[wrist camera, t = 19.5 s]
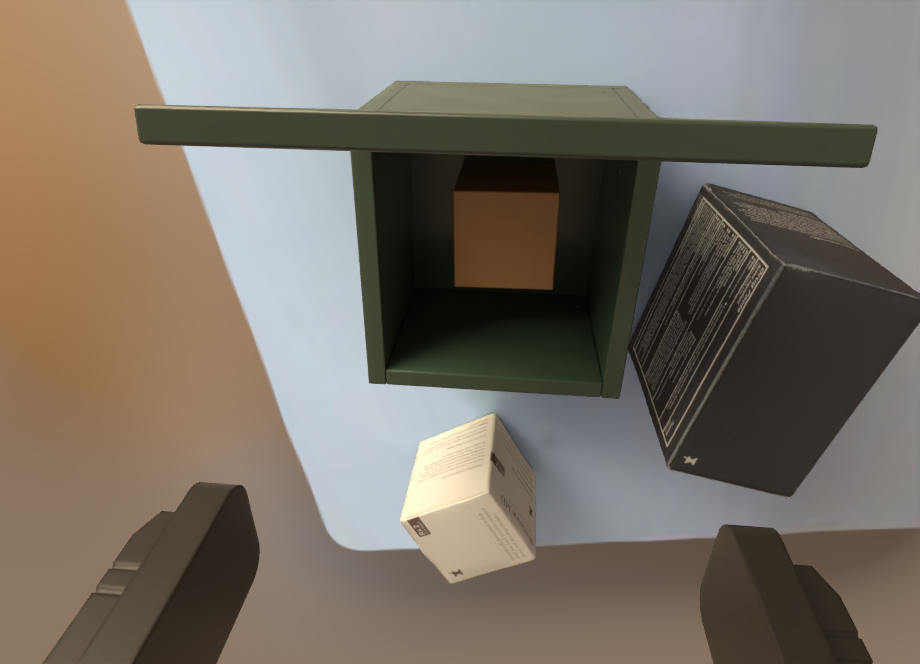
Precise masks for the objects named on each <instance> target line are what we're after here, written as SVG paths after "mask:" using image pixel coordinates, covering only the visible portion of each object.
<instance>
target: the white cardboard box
mask: <svg viewBox="0 0 920 664" xmlns="http://www.w3.org/2000/svg"><path fill="white" fill-rule="evenodd" d="M400 522H401V524H402V525H403V526H404V528H405V529H406V530H407V531H408V533H409V534H410V535H411V537H412V538H413V539H414V540H415V542H416V543H417V544H418V546H419V547H420V549H421V551H422V552H423V553H424V554H425V556H426V557H427V558H428V559H429V560H430V561H431V562H432V563H433V564H434V565H435V566H436V568H437V569H438V570H439V571H440V572H441V574H442V575H443V576H444V577H445V578H446V580H448V582H449V583H451V584H452V583H456V582H459V581H462V580H465V579H468V578H472V577H475V576H478V575H482V574H485V573H489V572H492V571H496V570H499V569H503V568H507V567H510V566H514V565H517V564H521V563H525V562H528V561H531V560H534V559H535V557H536V476H535V473H534V471H533V470H532V468H531V467H530V466H529V464H528V463H527V462H526V460H525V459H524V457H523V456H522V454H521V453H520V451H519V450H518V448H517V447H516V445H515V444H514V442H513V441H512V439H511V437H510V436H509V434H508V432H507V431H506V429H505V427H504V426H503V424H502V422H501V420H500V419H499V417H498V415H497V414H494V413H493V414H489V415H487V416H484V417H482V418H479V419H477V420H475V421H472V422H469V423H467V424H465V425H462V426H460V427H457V428H455V429H452V430H450V431H447V432H445V433H442V434H440V435H437V436H435V437H432V438H430V439H427V440H425V441H422V442H420V444H419V448H418V453H417V456H416V460H415V464H414V468H413V472H412V476H411V480H410V484H409V488H408V492H407V496H406V500H405V504H404V508H403V511H402V515H401V519H400Z"/></svg>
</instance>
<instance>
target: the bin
mask: <svg viewBox="0 0 920 664" xmlns="http://www.w3.org/2000/svg"><path fill="white" fill-rule="evenodd" d="M358 110H386V111H422V112H458V113H494V114H530V115H566V116H602V117H638V118H658V117H657V116H656V115H655V114H654V113H653V112H652V111H651V110H650V109H649V108H648V107H647V106H646V105H645V104H644V103H643V102H642V101H641V100H640V99H639V98H638V97H637V96H636V95H635V94H634V93H633V92H632V91H631V90H630V89H629V88H628V87H627V86H588V85H546V84H504V83H463V82H421V81H395V82H394V83H393V84H391V85H390V86H389V87H387V88H386V89H385V90H383V91H382V92H381V93H379V94H378V95H377V96H375V97H374V98H373V99H371V100H370V101H369V102H367V103H366V104H365V105H363V106H362V107H361V108H359V109H358ZM463 161H524V162H555V166H556V171H557V177H558V183H559V188H560V207H559V220H558V233H557V246H556V259H555V272H554V285H553V289H552V290H541V289H511V288H481V287H455V286H454V239H453V190H454V187H455V184H456V181H457V178H458V175H459V173H460V170H461V167H462V164H463ZM351 163H352V175H353V188H354V200H355V213H356V225H357V238H358V250H359V263H360V275H361V288H362V301H363V313H364V326H365V338H366V351H367V363H368V376H369V383H373V384H386V382H387V384H393V385H409V386H425V387H442V388H458V389H474V390H490V391H506V392H522V393H538V394H554V395H571V396H587V397H600V396H601V397H602V398H614V399H619V397H620V392H621V386H622V380H623V375H624V369H625V363H626V358H627V352H628V346H629V341H630V335H631V330H632V324H633V318H634V313H635V307H636V301H637V296H638V290H639V284H640V279H641V273H642V267H643V262H644V256H645V250H646V245H647V239H648V234H649V228H650V222H651V217H652V211H653V205H654V200H655V194H656V188H657V183H658V177H659V171H660V166H661V161H638V160H608V159H577V158H547V157H517V156H487V155H456V154H426V153H396V152H365V151H351Z"/></svg>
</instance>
